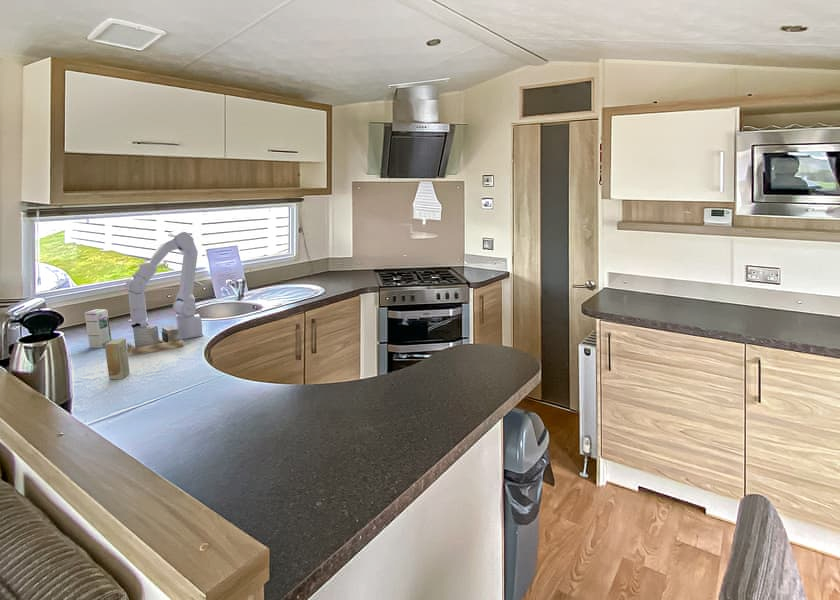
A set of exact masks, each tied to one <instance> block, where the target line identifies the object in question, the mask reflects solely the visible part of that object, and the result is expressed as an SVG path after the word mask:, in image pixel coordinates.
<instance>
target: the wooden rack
mask: <svg viewBox="0 0 840 600" xmlns="http://www.w3.org/2000/svg"><path fill="white" fill-rule="evenodd" d="M159 343H160V344H155V345H149V346H143V347H137V348H135V345H133V344H132V343H131V342H129V343H127V342H126V346H127V351H129V353H130V356H135V355H142V354H147V353H152V352H154V353H155V352H159V351H163V350H169V349H175V348H176V349H177V348H181V347H185V345H184V339H179V329H178V328H177V326H174V325H167V326H161V338H160V337H159Z"/></svg>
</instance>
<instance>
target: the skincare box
mask: <svg viewBox="0 0 840 600" xmlns="http://www.w3.org/2000/svg"><path fill="white" fill-rule="evenodd" d="M104 350H105V351H104V352H105V357H106V363H107V365H106V366H107V372H108V373H107V374H108V379H118V380H123V379H125V378H127V376H129V375H130V373H131V371H130V370H131V369H130V364H129V363H130V362H129V355H128V348H127V339H126V338H115V339H114V338H113V339H112V338H111V341H109V342H108V343H106V344H105V347H104ZM124 377H125V378H124Z"/></svg>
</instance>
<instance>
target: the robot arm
mask: <svg viewBox="0 0 840 600" xmlns="http://www.w3.org/2000/svg"><path fill="white" fill-rule="evenodd" d="M196 246H197V245H196V244H195V241H194V237H193V236H192V235H191V234H190V233H188V232H186V231H178V230H172V231H170V232H169V233H168V236H165V238H164V239H163V241H162V242H161V243H160V245H159V247H158V248H157V249H156V251H155V252H154V254H153V255H152V256H151V258H150V260H149V261H145V262H143V263H140V264H139V265H138V269H137V271H136V272H135V273H133V274H132V275H131V277H130V278H128V279H127V281H126V282H125V285H124V287H125V289H126V290H127V291H128V303H129V304H128V305H129V313H130V319H128V320H127V322H128V323H132V324H130V326H131V327H132V329H133V328H134V327H137V326H140V325H141V327H147V325H149V324H148V321H149V318H148V315H147V306H146V305H147V303H146V296H145V291H146V289H147V284H148V283H149V282H150V281H151V279H152V278H153V277H154V275H155V274H156V273H157V271H158V268H157V266H158V265H159V264H160V263H161V262H162V261H163V259H164V258H165V257H166V256H167V255H168V254H169V253H170V252H172V251H175V250H178V251H179V252H180V253H181V254H182V255H183V258H182V264H181V265H182V266H181V272H180V273H181V274H180V282H179V291H178V293H177V295H176V297H175V300H174V302H173V304H172V309H173V311H174V313H175V319H176V328H178V329H179V339H180V340H184V339H185V340H186V339H191V338H197V337H203V336H204V334H203V324H202V318H201V316H200V314H199V313H197V314H196V312H197V305H196V298H195V296H194V294H193V293H194V289H195V288H194V287H195V277H196V269H197V260H198V253H199V252H198V249H197V247H196Z"/></svg>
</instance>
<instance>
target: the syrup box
mask: <svg viewBox="0 0 840 600" xmlns="http://www.w3.org/2000/svg"><path fill="white" fill-rule="evenodd" d="M84 319H85V323H86V324H85V325H86V331H87V339H88V344H89V345H88V346H89V348H91V349H92V348H93V349H103V348H105V344H106V343H108V342H109V341H111V340H112V334H111V327H110V319H109V312H108V309H105V308H100V309H99V308H98V309H97V308H96V309H93V310H89V311H85V312H84Z"/></svg>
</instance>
